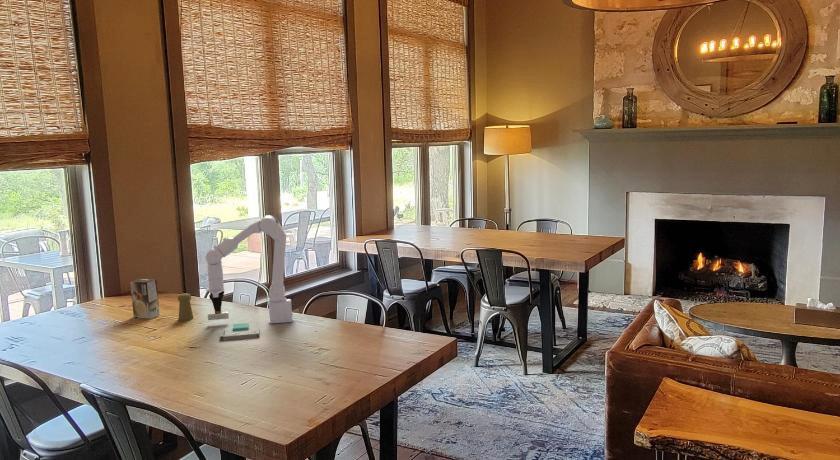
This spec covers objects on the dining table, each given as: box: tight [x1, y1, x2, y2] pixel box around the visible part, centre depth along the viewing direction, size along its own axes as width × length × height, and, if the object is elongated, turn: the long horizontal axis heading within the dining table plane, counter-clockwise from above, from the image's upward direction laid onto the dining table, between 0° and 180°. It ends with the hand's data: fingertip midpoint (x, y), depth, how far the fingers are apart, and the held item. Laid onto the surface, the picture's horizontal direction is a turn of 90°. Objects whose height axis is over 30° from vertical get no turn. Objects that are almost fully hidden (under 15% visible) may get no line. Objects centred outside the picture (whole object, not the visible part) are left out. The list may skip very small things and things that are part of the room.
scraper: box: [207, 310, 230, 321], centre depth 260 cm, size 8×2×8 cm, turn 104°
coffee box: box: [130, 278, 160, 320], centre depth 273 cm, size 9×6×16 cm
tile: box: [232, 322, 250, 332], centre depth 256 cm, size 6×6×2 cm
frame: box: [219, 325, 260, 342], centre depth 247 cm, size 14×10×2 cm
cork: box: [177, 292, 194, 322], centre depth 268 cm, size 6×6×11 cm
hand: (218, 310), depth 260 cm, fingers closed on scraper, 2 cm apart
